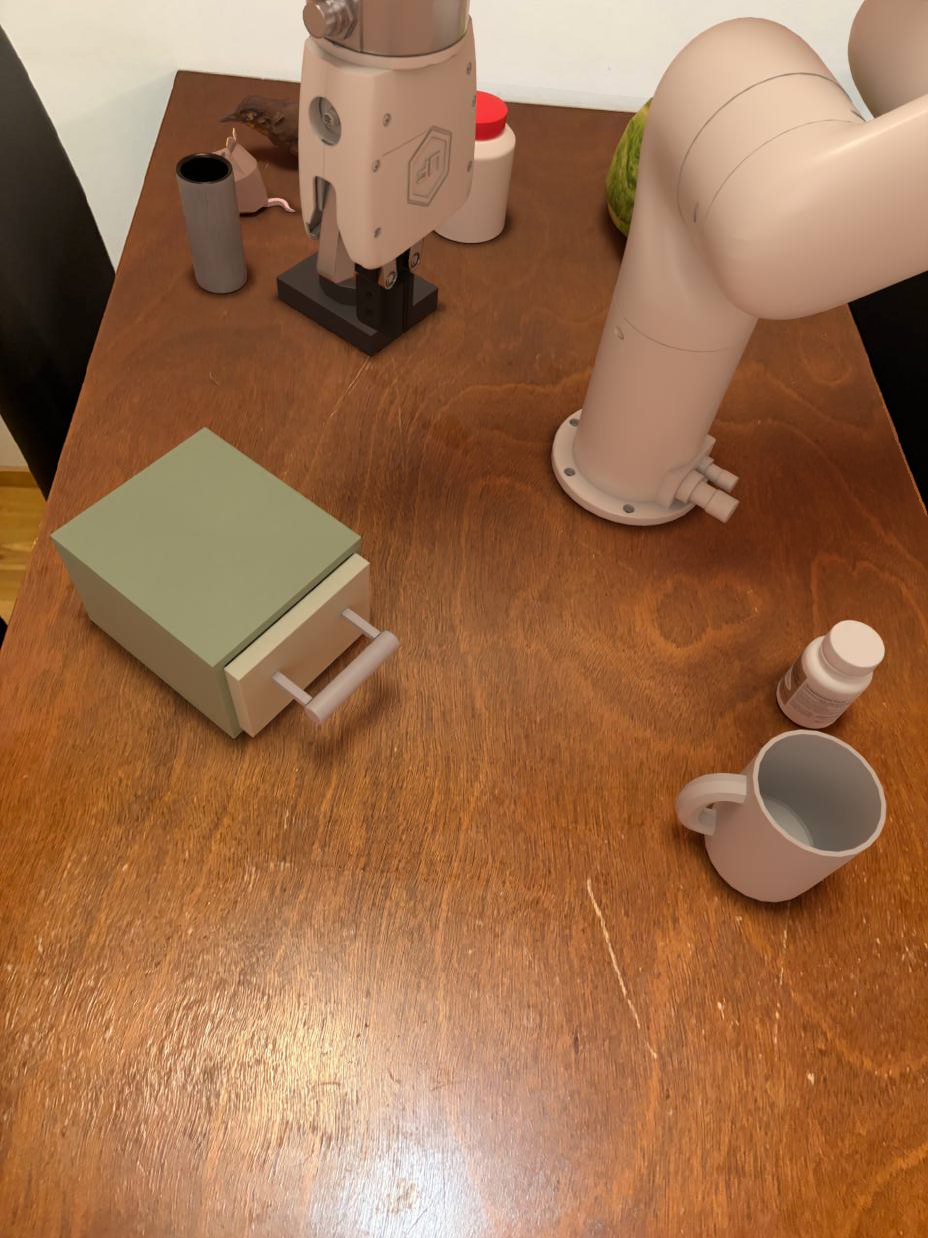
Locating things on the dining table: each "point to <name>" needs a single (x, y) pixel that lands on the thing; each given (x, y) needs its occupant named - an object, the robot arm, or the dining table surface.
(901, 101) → the robot arm
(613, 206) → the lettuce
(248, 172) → the mouse figurine
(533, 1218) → the dining table surface
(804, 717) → the pill bottle
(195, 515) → the cabinet
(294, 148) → the bird sculpture
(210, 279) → the gray hollow cylinder
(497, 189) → the pill bottle
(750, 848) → the cup
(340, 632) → the drawer
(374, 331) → the control box
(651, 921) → the dining table surface
